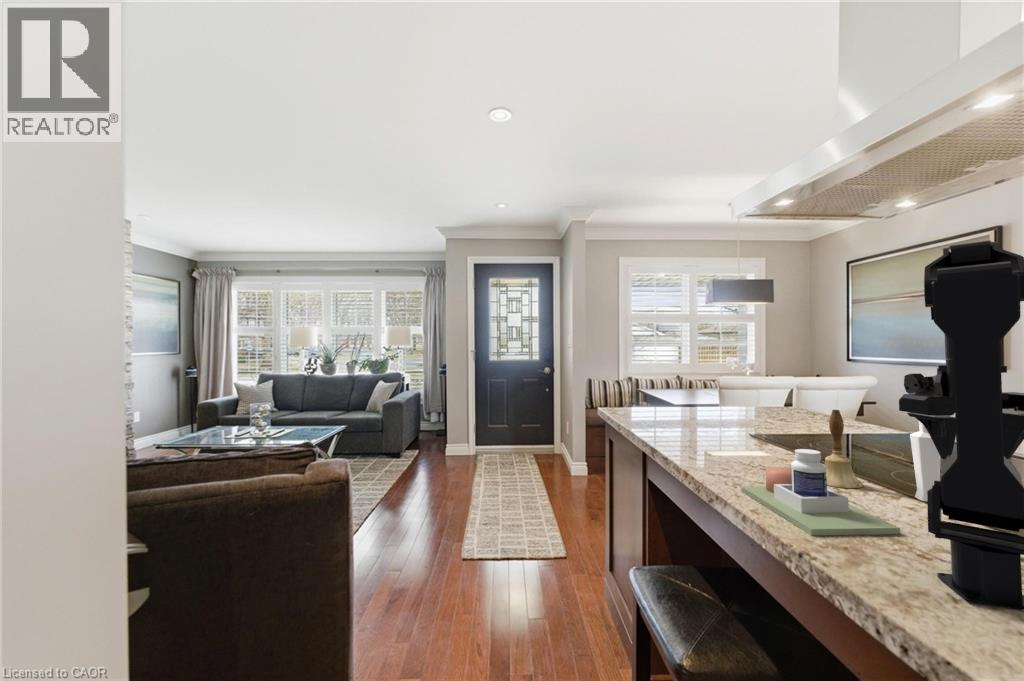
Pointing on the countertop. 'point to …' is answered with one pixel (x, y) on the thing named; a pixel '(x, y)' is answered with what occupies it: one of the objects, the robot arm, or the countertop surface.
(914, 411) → the robot arm
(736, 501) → the countertop surface
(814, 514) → the green board with tray
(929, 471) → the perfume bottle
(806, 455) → the pill bottle
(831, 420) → the hand bell
